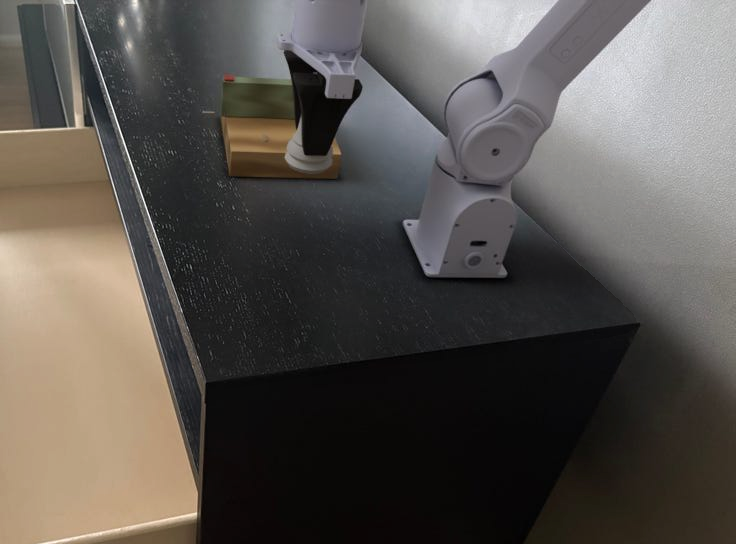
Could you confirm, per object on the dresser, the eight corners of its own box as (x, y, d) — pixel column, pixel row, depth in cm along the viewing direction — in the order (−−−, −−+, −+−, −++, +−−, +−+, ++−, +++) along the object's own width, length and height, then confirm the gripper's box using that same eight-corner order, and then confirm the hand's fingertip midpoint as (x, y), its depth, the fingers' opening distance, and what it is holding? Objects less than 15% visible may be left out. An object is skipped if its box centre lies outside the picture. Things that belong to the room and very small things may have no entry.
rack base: (337, 179, 83) (342, 153, 81) (205, 176, 82) (206, 148, 79) (315, 117, 95) (318, 93, 93) (198, 113, 93) (199, 88, 91)
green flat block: (297, 113, 88) (301, 77, 85) (299, 119, 87) (303, 83, 84) (220, 110, 87) (222, 73, 84) (221, 116, 86) (223, 79, 83)
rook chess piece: (341, 165, 70) (356, 80, 65) (311, 180, 68) (324, 93, 62) (304, 147, 72) (316, 64, 67) (274, 161, 70) (283, 75, 64)
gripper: (272, -47, 64) (258, 107, 73) (298, 10, 54) (278, 182, 63) (352, -42, 65) (329, 109, 74) (394, 15, 55) (360, 183, 64)
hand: (311, 143), depth 69 cm, fingers closed on rook chess piece, 3 cm apart
